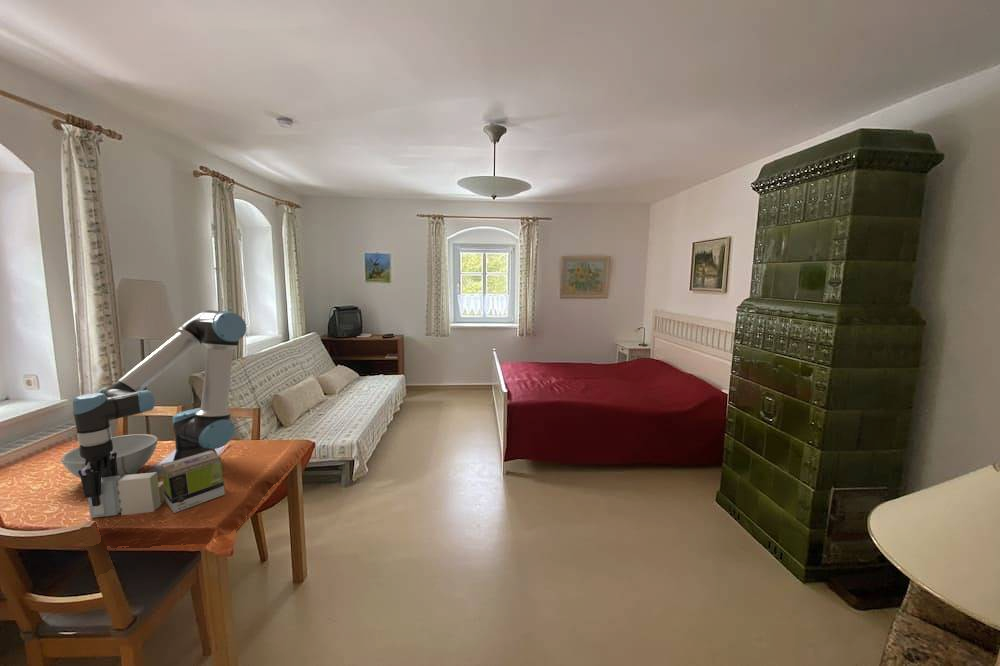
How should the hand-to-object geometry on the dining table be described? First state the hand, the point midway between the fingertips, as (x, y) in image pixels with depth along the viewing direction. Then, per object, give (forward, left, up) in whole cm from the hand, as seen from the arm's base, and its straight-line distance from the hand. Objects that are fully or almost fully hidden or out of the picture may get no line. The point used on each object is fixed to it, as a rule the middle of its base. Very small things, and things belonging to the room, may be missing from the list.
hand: (105, 509), depth 131 cm
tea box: (-3, +24, -2) cm, 25 cm away
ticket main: (-2, +10, -2) cm, 10 cm away
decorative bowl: (-29, -14, -2) cm, 32 cm away
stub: (0, +1, -2) cm, 2 cm away
